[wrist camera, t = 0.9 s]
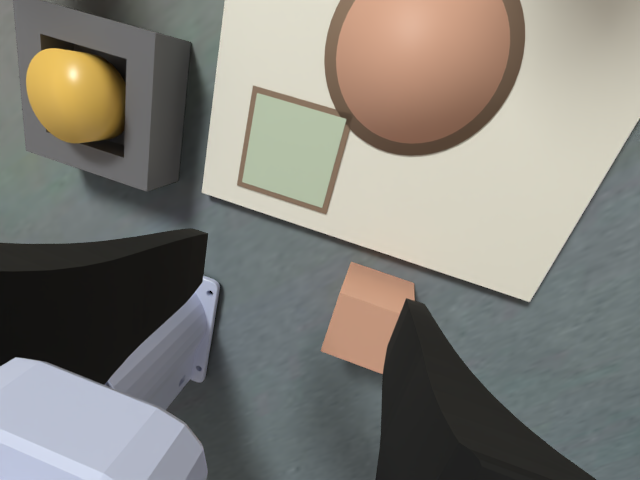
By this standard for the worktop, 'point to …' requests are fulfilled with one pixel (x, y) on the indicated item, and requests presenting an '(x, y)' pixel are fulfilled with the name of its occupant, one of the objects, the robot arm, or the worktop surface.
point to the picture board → (426, 123)
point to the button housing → (141, 93)
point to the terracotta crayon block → (366, 316)
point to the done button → (76, 95)
